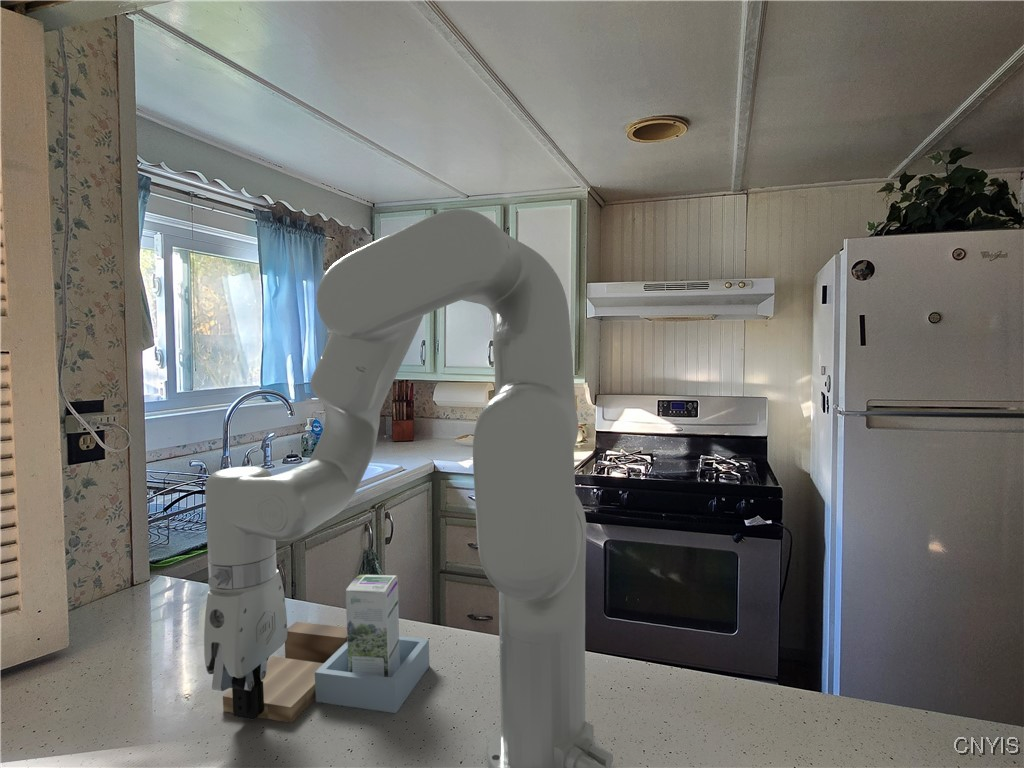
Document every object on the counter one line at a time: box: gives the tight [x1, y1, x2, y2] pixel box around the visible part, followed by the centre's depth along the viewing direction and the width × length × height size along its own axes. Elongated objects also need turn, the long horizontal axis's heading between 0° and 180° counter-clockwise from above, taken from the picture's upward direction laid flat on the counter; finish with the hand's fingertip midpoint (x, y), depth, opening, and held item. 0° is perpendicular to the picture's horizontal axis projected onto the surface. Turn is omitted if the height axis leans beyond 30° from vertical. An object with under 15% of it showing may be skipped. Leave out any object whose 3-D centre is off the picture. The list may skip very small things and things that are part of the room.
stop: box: [284, 621, 347, 663], centre depth 88 cm, size 10×3×4 cm, turn 76°
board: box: [222, 656, 324, 723], centre depth 79 cm, size 10×10×2 cm
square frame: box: [315, 635, 430, 714], centre depth 82 cm, size 11×11×4 cm
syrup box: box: [345, 574, 400, 678], centre depth 81 cm, size 6×6×14 cm
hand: (248, 714), depth 73 cm, fingers closed
